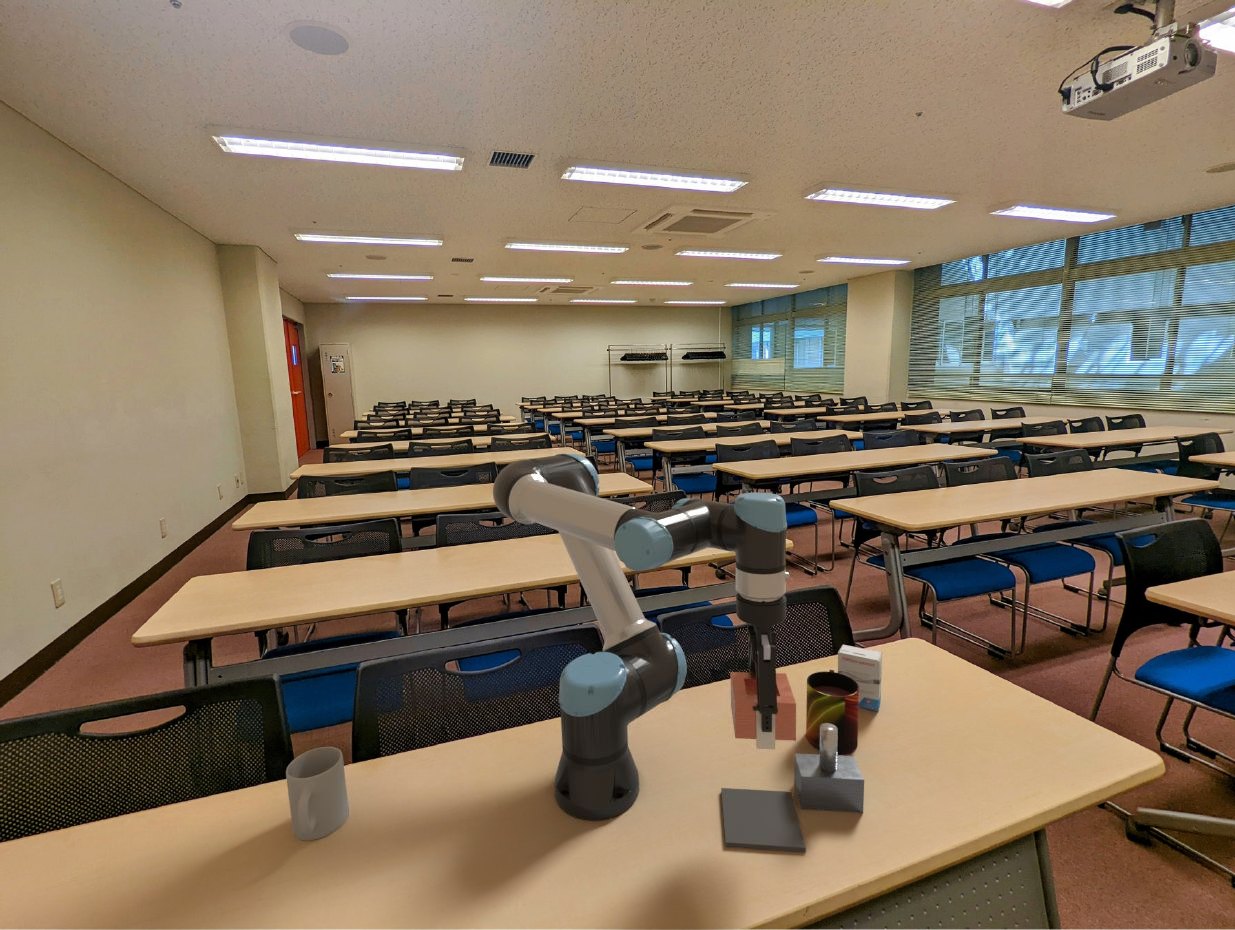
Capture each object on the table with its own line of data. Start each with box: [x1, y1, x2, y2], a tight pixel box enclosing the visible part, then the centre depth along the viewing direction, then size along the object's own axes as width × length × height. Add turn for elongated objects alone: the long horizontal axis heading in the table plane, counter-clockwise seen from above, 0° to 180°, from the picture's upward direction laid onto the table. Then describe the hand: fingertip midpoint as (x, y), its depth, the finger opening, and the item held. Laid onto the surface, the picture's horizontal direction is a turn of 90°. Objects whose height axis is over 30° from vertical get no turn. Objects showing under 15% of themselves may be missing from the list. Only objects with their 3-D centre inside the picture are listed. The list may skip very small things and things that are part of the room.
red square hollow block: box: [730, 671, 797, 742], centre depth 90 cm, size 9×9×6 cm
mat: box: [720, 787, 807, 853], centre depth 93 cm, size 12×12×1 cm
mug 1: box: [285, 746, 350, 842], centre depth 93 cm, size 12×8×11 cm
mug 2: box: [805, 669, 860, 756], centre depth 114 cm, size 10×14×12 cm
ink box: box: [837, 644, 883, 712], centre depth 125 cm, size 8×5×12 cm, turn 58°
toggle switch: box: [793, 723, 865, 814], centre depth 96 cm, size 10×6×13 cm, turn 83°
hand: (761, 728), depth 90 cm, fingers closed on red square hollow block, 9 cm apart
